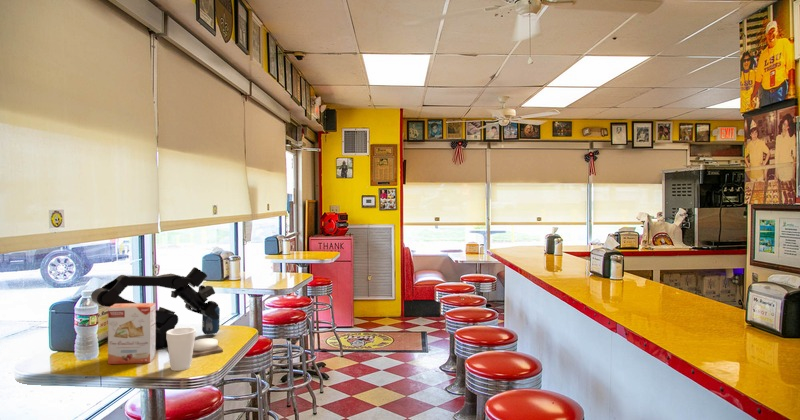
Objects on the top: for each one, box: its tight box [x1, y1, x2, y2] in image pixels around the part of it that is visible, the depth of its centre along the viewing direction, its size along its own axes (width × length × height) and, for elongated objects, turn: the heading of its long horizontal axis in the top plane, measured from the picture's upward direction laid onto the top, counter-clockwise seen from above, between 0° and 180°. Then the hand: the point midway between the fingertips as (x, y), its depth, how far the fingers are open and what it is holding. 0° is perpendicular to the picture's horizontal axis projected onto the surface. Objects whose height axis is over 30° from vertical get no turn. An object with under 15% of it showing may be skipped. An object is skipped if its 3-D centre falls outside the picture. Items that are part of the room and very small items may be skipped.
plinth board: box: [192, 337, 224, 359], centre depth 175 cm, size 16×16×3 cm
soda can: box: [201, 305, 221, 335], centre depth 195 cm, size 7×7×12 cm
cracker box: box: [107, 302, 157, 365], centre depth 161 cm, size 14×6×21 cm, turn 101°
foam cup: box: [166, 326, 197, 372], centre depth 156 cm, size 10×9×13 cm
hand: (214, 317), depth 196 cm, fingers closed on soda can, 7 cm apart
